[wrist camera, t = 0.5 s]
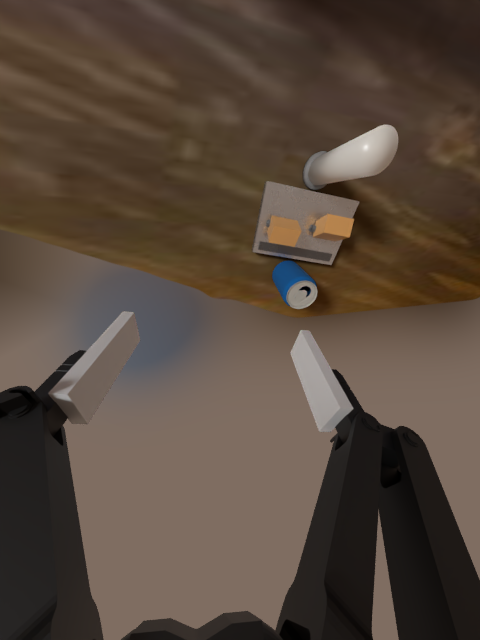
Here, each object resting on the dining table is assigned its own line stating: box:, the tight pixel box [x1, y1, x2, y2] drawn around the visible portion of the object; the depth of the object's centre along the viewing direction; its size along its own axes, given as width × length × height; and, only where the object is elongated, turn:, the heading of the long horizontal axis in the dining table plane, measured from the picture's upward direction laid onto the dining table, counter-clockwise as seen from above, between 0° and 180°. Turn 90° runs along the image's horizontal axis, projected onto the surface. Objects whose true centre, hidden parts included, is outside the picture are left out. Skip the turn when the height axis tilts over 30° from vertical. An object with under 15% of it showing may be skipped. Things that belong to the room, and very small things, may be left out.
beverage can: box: [272, 261, 317, 309], centre depth 38 cm, size 6×6×12 cm
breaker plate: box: [252, 181, 359, 265], centre depth 36 cm, size 12×18×2 cm, turn 81°
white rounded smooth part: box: [303, 125, 398, 190], centre depth 26 cm, size 5×5×16 cm
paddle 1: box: [267, 216, 302, 247], centre depth 33 cm, size 3×6×5 cm, turn 80°
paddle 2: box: [311, 214, 354, 241], centre depth 34 cm, size 3×6×5 cm, turn 81°
